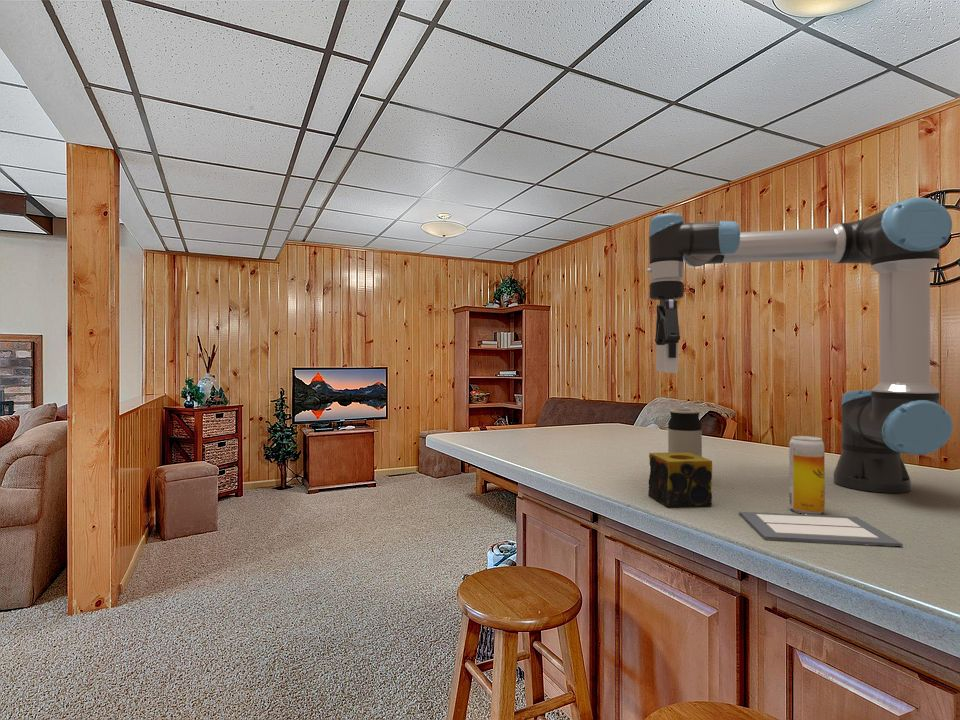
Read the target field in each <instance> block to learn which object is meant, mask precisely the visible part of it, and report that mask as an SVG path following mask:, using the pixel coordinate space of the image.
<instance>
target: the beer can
mask: <svg viewBox="0 0 960 720" xmlns="http://www.w3.org/2000/svg"><path fill="white" fill-rule="evenodd" d="M788 446H789V447H788V450H789V452H788V453H789V457H788V458H789V459H788V460H789V461H788V462H789V463H788V464H789V467H788V468H789V470H788V471H789V476H788V477H789V480H788V481H789V507H790V508H791V509H792V511H793V512H795V513H796V514H800V513H801V514H804V515H805V514H807V515H823V514H822V513H823V512H825V504H826V501H825V499H826V497H825V496H826V495H825V493H826V492H825V485H826V484H825V477H826V476H825V473H826V472H825V444H824V442H823V439H822V438H821V437H816V436H811V435H810V436H809V435H795V436H791V438H790V440H789V444H788Z"/></svg>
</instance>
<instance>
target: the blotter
mask: <svg viewBox="0 0 960 720" xmlns="http://www.w3.org/2000/svg"><path fill="white" fill-rule="evenodd" d="M738 513H739V516H740V517H741V518H742V519H743V520H744V521H745V522H746V523H747V524H748V525H749V526H750V527H751V528H752V529H753V530H754V531H755V532H756V533H757V534H758V535H759V536H760V537H761V538H762V539H763V540H764V541H774V542H775V541H777V542H796V543H799V542H800V543H816V544H833V545H835V544H836V545H850V544H868V545H867V546H869V545H886V546H885V547H887V546H900V547H899V548H903V543H902V542H901V541H899V540H897V539H895V538H894V537H892V536H890V535H888V534H887V533H885V532H883V531H881V530H880V529H878V528H876V527H875V526H873V525H872V524H870V523H867V522H866V521H864V520H863V519H861V518H859V517H858V516H846V515H845V516H844V515H825V514H820V515H805V514H800V513H783V512H782V513H780V512H779V513H778V512H777V513H776V512H756V511H755V512H754V511H739V512H738Z"/></svg>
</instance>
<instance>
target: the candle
mask: <svg viewBox="0 0 960 720" xmlns="http://www.w3.org/2000/svg"><path fill="white" fill-rule="evenodd" d="M648 457H649V459H648V460H649V466H650V468H649V470H650V472H649V477H648V496H649V497H650V498H652V499H653V500H655V501H656V502H658V503H659V504H661V505H663V506H664V507H666V508H669V509H675V508H676V509H678V508H680V509H681V508H702V507H703V508H706V507H712V504H713V501H712V499H713V493H712V485H713V483H712V480H713V478H712V476H713V460H711V459H708V458H705V457H703V456H702V457H701V456H698V455H695V454H693V453H691V452H673V453H668V452H649V455H648Z"/></svg>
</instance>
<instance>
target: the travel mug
mask: <svg viewBox="0 0 960 720" xmlns="http://www.w3.org/2000/svg"><path fill="white" fill-rule="evenodd" d="M669 413H670V418H669V419H668V423H667V427H668V429H667V431H668V432H667V437H668V438H667V441H668V442H667V443H668V444H667V445H668V447H667V448H668V449H667V453H673V452H691V453H693V454H695V455H698V456H701V457H703V455H702V454H703V452H702V451H703V450H702V448H703V447H702V445H703V444H702V443H703V442H702V439H703V438H702V436H703V435H702V431H703V430H702V425H703V424H702V422H701V420H700V418H699V417H700V413H701V410H699V409H697V408H696V409H694V408H670V409H669Z"/></svg>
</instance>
